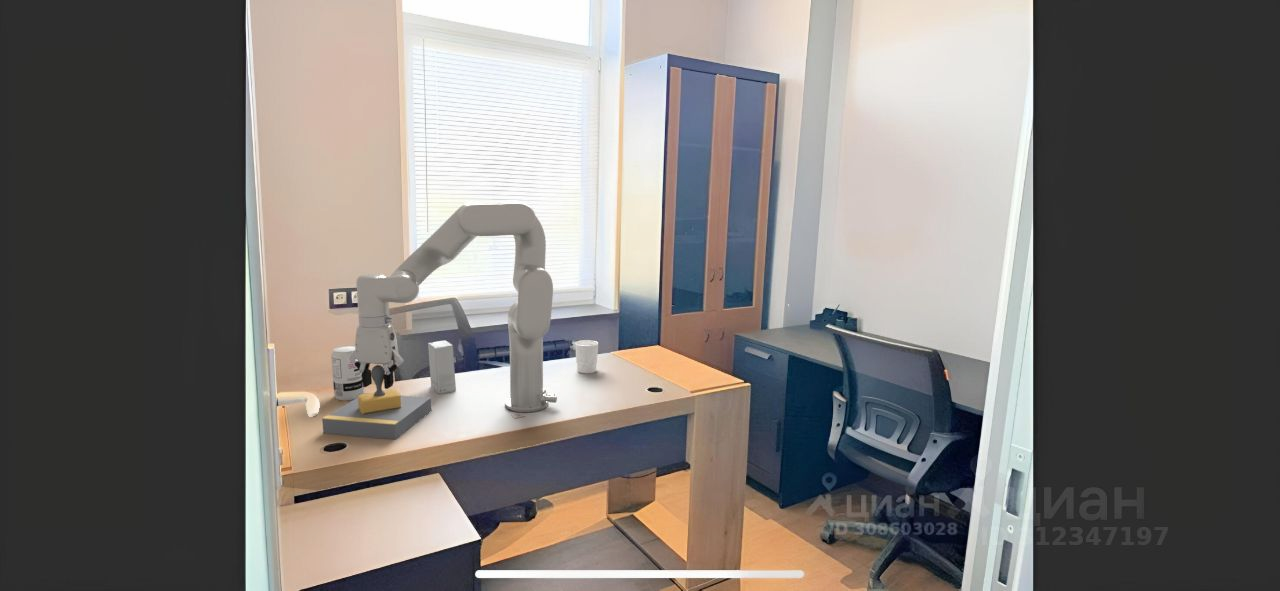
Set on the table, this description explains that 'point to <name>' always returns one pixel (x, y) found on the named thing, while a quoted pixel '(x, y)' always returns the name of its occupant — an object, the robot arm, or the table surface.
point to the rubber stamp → (379, 395)
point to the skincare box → (442, 366)
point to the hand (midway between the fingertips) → (378, 385)
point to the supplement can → (346, 374)
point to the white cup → (586, 356)
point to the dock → (377, 419)
